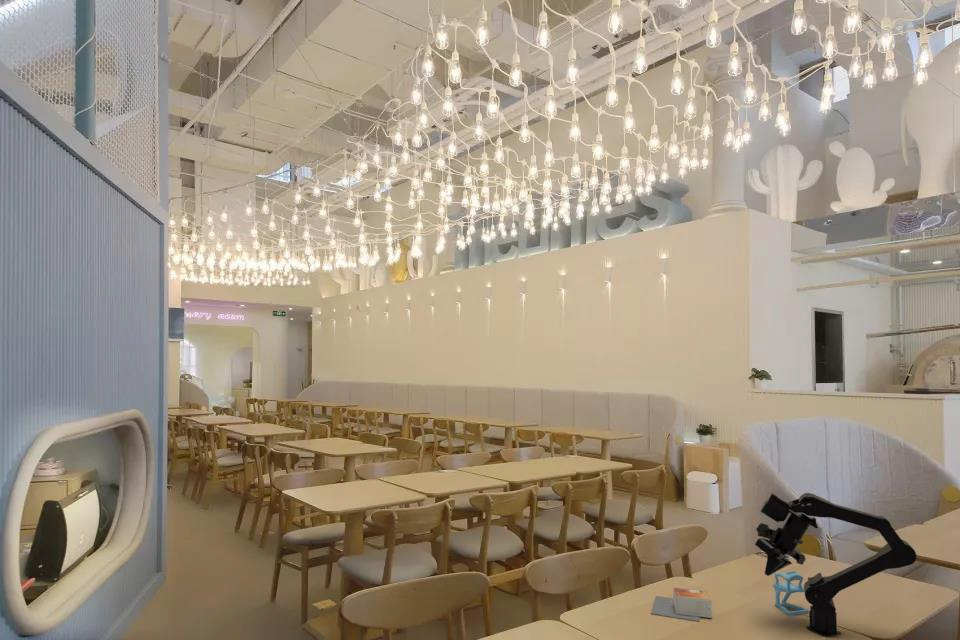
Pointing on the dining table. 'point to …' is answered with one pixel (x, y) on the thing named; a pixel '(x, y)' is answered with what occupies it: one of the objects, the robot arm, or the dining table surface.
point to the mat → (669, 609)
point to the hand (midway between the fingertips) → (766, 574)
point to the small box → (692, 602)
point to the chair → (788, 592)
